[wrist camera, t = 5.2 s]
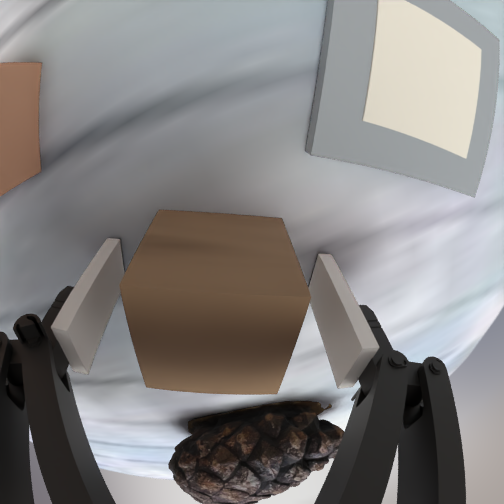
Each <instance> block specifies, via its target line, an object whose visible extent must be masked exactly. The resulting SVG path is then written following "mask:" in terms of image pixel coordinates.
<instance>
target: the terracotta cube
mask: <svg viewBox="0 0 504 504" xmlns="http://www.w3.org/2000/svg"><path fill="white" fill-rule="evenodd" d="M41 67H42V63H33V62H13V63H0V196H2V195H3V194H5V193H6V192H8V191H9V190H11V189H13V188H14V187H16V186H17V185H19V184H21V183H22V182H24V181H26V180H27V179H29V178H31V177H32V176H34V175H36V174H38V173H39V172H41V162H40V147H39V92H40V77H41Z"/></svg>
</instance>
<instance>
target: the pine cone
mask: <svg viewBox="0 0 504 504" xmlns="http://www.w3.org/2000/svg"><path fill="white" fill-rule="evenodd" d="M331 407H332V405H330V404H329V406H328V407H327V408H326V409H323V408H322V407H321V404H320V403H319V402H312V401H285V402H278V403H272V404H265V405H262V406H261V405H260V406H259V407H258V406H255V407H250V408H245V409H241V410H237V411H232V412H228V413H223V414H218V415H211V416H206V417H202V418H198V419H194V420H191V421H189V422H188V431H189V432H190V433H191V434H192V435H191V436H189V437H188V438H186V439H184V440H183V441H181V442H180V444H178V445H177V446H176V447H175V452H174V454H173V456H172V458H171V460H170V462H169V464H168V465H169V469H170V470H171V471H172V472H173V474H174V475H173V478H174V480H175V481H176V483H177V484H178V485H179V486H180V488H181V489H183V491H184V492H186V493H188V494H189V495H191V496H192V497H193V498H194V499H195V500H196V501H198V502H200V503H202V504H254V503H257V502H258V501H259V500H262V499H266V498H269V497H271V495H276V494H279V493H282V492H284V491H286V490H287V489H288V488H289V487H292V486H293V487H295V486H298V485H299V484H300V482H302V481H304V480H305V479H307V476H309V475H310V473H311V472H312V471H315V470H317V471H319V470H321V469H323V468H324V465H325V464H327V463H328V462H329V459H330V458H334V459H335V456H336V454H337V451H338V448H339V446H340V443H341V440H342V438H343V435H344V431H343V430H342V429H341V428H339V427H338V426H336V425H334V424H332V423H330V422H329V421H326V420H319V419H318V417H317V415H318V414H320V413H321V412H323V411H324V410H327V409H329V408H331Z"/></svg>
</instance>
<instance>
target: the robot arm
mask: <svg viewBox="0 0 504 504" xmlns="http://www.w3.org/2000/svg"><path fill="white" fill-rule="evenodd" d="M124 274H125V272H124V266H123V259H122V251H121V243H120V239H111V238H107V239H106V241H105V242H104V244H103V245H102V246H101V248H100V249H99V251H98V252H97V254H96V255H95V256H94V258H93V259H92V261H91V262H90V264H89V265H88V267H87V268H86V270H85V271H84V273H83V274H82V276H81V277H80V279H79V280H78V282H77V284H76V285H75V287H71V286H67V287H66V288H64V289H63V290H62V291H61V292H60V293H59V294H58V296H57V297H56V299H55V301H54V302H53V304H52V305H51V308H50V309H49V310H48V312H47V314H46V315H45V317H44V319H43V320H42V322H41V321H40V318H39V317H38V316H37V315H35V314H26V315H23V316H21V317H20V318H19V319H18V320H17V321H16V322H15V324H14V327H13V330H14V332H15V334H16V336H17V337H18V339H19V340H9V339H8V337H7V335H6V334H5V333H4V332H0V504H34V499H33V491H32V482H31V472H30V458H29V425H30V430H31V435H32V440H33V444H34V448H35V452H36V455H37V459H38V463H39V466H40V470H41V473H42V476H43V479H44V482H45V485H46V488H47V491H48V493H49V496H50V498H51V501H52V504H116V503H115V501H114V499H113V498H112V496H111V494H110V492H109V490H108V488H107V485H106V484H105V481H104V479H103V477H102V475H101V472H100V470H99V468H98V465H97V463H96V461H95V458H94V456H93V453H92V450H91V448H90V445H89V442H88V440H87V437H86V434H85V431H84V428H83V425H82V422H81V419H80V415H79V412H78V409H77V405H76V401H75V398H74V394H73V390H72V386H71V382H70V377H69V374H68V372H67V367H68V365H69V364H70V366H71V368H72V370H73V371H74V372H78V373H83V374H87V375H88V374H89V371H90V368H91V366H92V363H93V360H94V357H95V354H96V352H97V349H98V346H99V344H100V341H101V339H102V336H103V333H104V331H105V328H106V326H107V323H108V321H109V319H110V316H111V314H112V311H113V309H114V307H115V304H116V302H117V300H118V298H119V295H120V293H121V291H120V286H119V284H120V282H121V280H122V278H123V276H124ZM308 289H309V292H310V294H311V300H310V304H311V307H312V310H313V313H314V316H315V319H316V322H317V325H318V328H319V331H320V334H321V337H322V340H323V343H324V346H325V349H326V353H327V356H328V359H329V362H330V365H331V369H332V372H333V375H334V378H335V382H336V385H337V388H338V389H339V388H348V387H353V386H354V385H355V383H356V382H357V381H358V380H359V382H360V385H361V387H360V388H359V389H358V391H357V392H356V393H355V395H354V396H353V397H352V399H351V400H352V401H353V400H354V399H355V402H354V405H353V408H352V411H351V414H350V417H349V420H348V423H347V426H346V429H345V432H344V435H343V438H342V440H341V443H340V446H339V448H338V451H337V454H336V456H335V459H334V461H333V463H332V466H331V468H330V471H329V473H328V476H327V478H326V480H325V482H324V484H323V486H322V489H321V491H320V493H319V495H318V497H317V499H316V501H315V503H314V504H381V503H382V499H383V497H384V494H385V490H386V487H387V484H388V480H389V477H390V473H391V470H392V466H393V462H394V458H395V453H396V449H397V445H398V493H397V504H466V487H465V470H464V459H463V450H462V442H461V435H460V429H459V423H458V417H457V412H456V407H455V402H454V397H453V393H452V389H451V384H450V380H449V376H448V373H447V369H446V367H445V364H444V363H443V362H442V361H441V360H439V359H438V358H436V357H428V358H426V359H425V360H424V362H423V363H422V364H421V363H415V362H409V361H408V360H407V358H406V357H405V356H404V355H403V354H402V353H400V352H398V351H395V350H393V348H392V346H391V344H390V342H389V340H388V339H387V337H386V335H385V333H384V331H383V329H382V328H381V325H380V323H379V322H378V319H377V318H376V316H375V314H374V312H373V311H372V310H371V309H370V308H369V307H368V306H367V305H358V303H357V301H356V299H355V297H354V295H353V293H352V291H351V289H350V288H349V286H348V284H347V282H346V280H345V278H344V276H343V275H342V273H341V271H340V269H339V267H338V265H337V264H336V262H335V260H334V258H333V256H332V255H331V254H319V253H318V257H317V261H316V264H315V268H314V271H313V274H312V278H311V281H310V285H309V288H308Z"/></svg>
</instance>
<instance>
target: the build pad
mask: <svg viewBox="0 0 504 504" xmlns="http://www.w3.org/2000/svg"><path fill="white" fill-rule="evenodd" d="M498 77H499V39H498V38H497V37H496V36H495V35H494V34H492V33H491V32H490V31H489V30H488V29H487V28H486V27H484V26H483V25H482V24H481V23H480V22H478V21H477V20H476V19H475V18H473V17H472V16H471V15H470V14H468V13H467V12H466V11H464V10H463V9H462V8H460V7H459V6H457V5H456V4H455V3H453V2H452V1H450V0H328V2H327V10H326V18H325V26H324V34H323V41H322V49H321V56H320V63H319V70H318V76H317V83H316V89H315V96H314V102H313V108H312V114H311V120H310V126H309V132H308V138H307V143H306V149H305V151H306V152H307V153H309V154H310V155H312V156H318V157H324V158H329V159H334V160H340V161H345V162H350V163H354V164H359V165H364V166H368V167H372V168H377V169H381V170H385V171H389V172H393V173H397V174H401V175H404V176H408V177H412V178H415V179H419V180H422V181H426V182H429V183H432V184H435V185H439V186H442V187H445V188H448V189H451V190H454V191H457V192H460V193H463V194H466V195H468V196H471V197H474V198H475V195H476V192H477V189H478V185H479V182H480V179H481V175H482V171H483V168H484V164H485V160H486V156H487V151H488V147H489V142H490V137H491V132H492V127H493V121H494V114H495V107H496V99H497V90H498Z"/></svg>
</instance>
